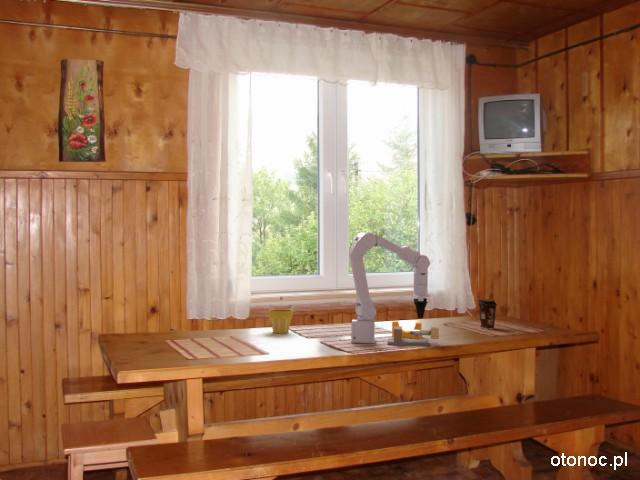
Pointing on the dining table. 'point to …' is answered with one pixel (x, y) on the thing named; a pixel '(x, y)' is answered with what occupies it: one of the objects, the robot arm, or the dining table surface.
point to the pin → (427, 332)
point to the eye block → (400, 341)
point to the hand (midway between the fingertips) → (420, 316)
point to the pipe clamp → (407, 333)
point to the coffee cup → (487, 313)
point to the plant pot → (280, 319)
